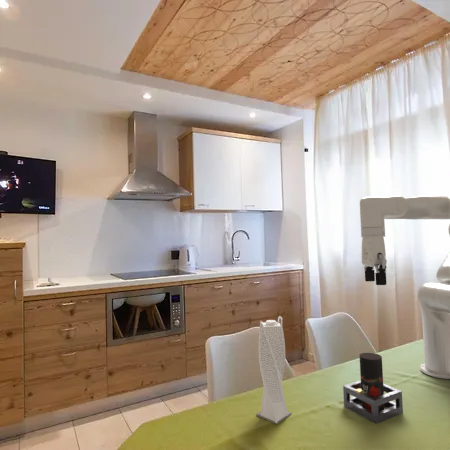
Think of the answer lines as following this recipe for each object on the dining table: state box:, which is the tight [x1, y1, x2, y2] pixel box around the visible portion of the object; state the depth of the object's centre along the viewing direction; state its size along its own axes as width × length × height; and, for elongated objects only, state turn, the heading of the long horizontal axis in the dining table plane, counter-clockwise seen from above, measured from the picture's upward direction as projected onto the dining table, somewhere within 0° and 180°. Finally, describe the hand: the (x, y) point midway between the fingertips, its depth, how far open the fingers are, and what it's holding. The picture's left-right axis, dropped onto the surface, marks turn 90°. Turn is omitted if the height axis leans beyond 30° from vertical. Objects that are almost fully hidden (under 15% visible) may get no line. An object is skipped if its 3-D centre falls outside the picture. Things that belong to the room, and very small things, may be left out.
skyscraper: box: [256, 315, 292, 425], centre depth 95 cm, size 8×8×28 cm
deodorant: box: [359, 352, 386, 412], centre depth 97 cm, size 6×6×15 cm
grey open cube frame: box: [342, 379, 404, 425], centre depth 97 cm, size 11×11×7 cm
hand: (375, 283), depth 115 cm, fingers open, 9 cm apart
